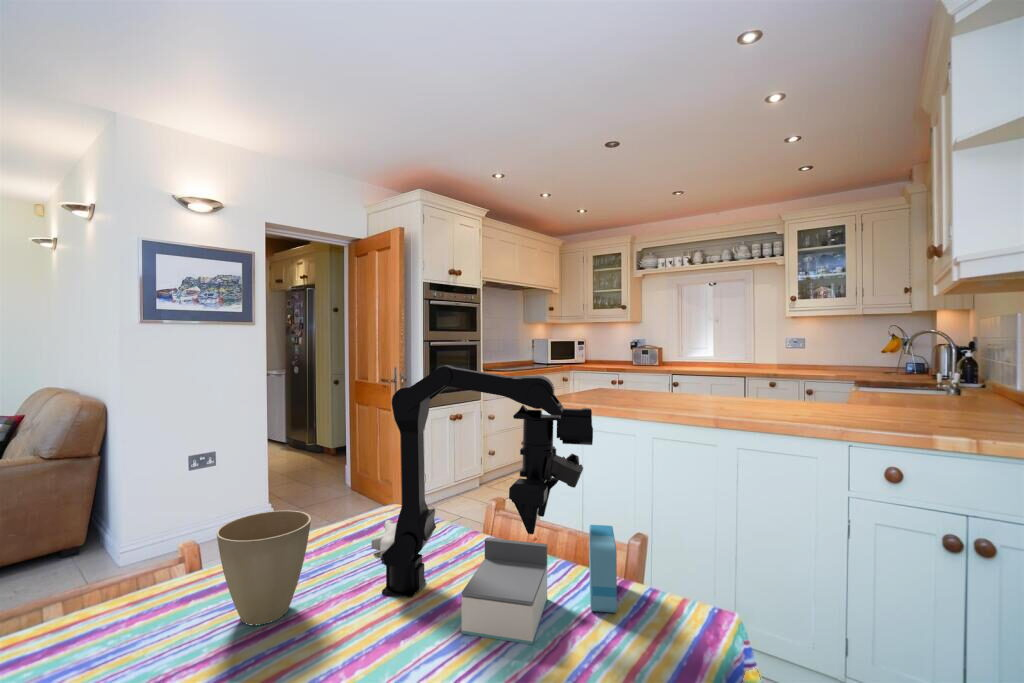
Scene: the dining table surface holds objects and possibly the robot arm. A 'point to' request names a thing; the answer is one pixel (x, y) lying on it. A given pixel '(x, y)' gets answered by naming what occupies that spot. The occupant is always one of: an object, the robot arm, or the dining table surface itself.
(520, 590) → the lid
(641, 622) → the dining table surface
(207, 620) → the dining table surface
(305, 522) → the plant pot
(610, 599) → the data package
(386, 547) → the bunny figurine
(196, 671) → the dining table surface
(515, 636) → the box
